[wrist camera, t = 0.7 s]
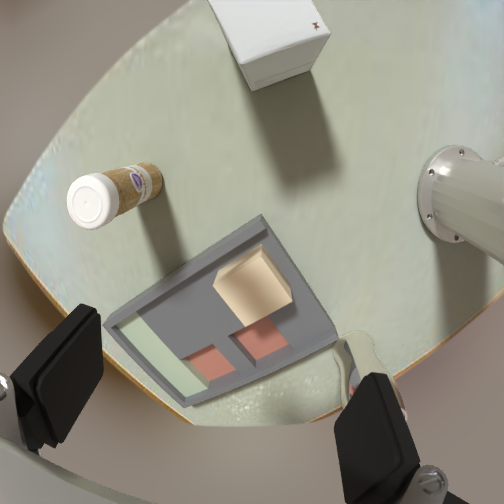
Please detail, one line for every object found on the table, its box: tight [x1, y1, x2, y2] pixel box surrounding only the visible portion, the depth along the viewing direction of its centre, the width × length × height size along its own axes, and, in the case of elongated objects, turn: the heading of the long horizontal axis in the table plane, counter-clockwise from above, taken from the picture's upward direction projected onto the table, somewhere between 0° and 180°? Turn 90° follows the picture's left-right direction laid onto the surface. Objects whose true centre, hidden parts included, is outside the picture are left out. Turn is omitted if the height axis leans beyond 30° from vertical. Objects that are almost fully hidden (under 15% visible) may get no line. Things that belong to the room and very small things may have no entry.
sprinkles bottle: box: [67, 163, 162, 230], centre depth 28 cm, size 5×5×13 cm
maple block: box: [213, 244, 292, 327], centre depth 34 cm, size 6×6×4 cm
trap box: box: [102, 214, 339, 408], centre depth 39 cm, size 26×18×3 cm
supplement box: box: [207, 0, 331, 91], centre depth 23 cm, size 7×7×13 cm
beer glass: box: [333, 331, 408, 421], centre depth 34 cm, size 7×7×15 cm
